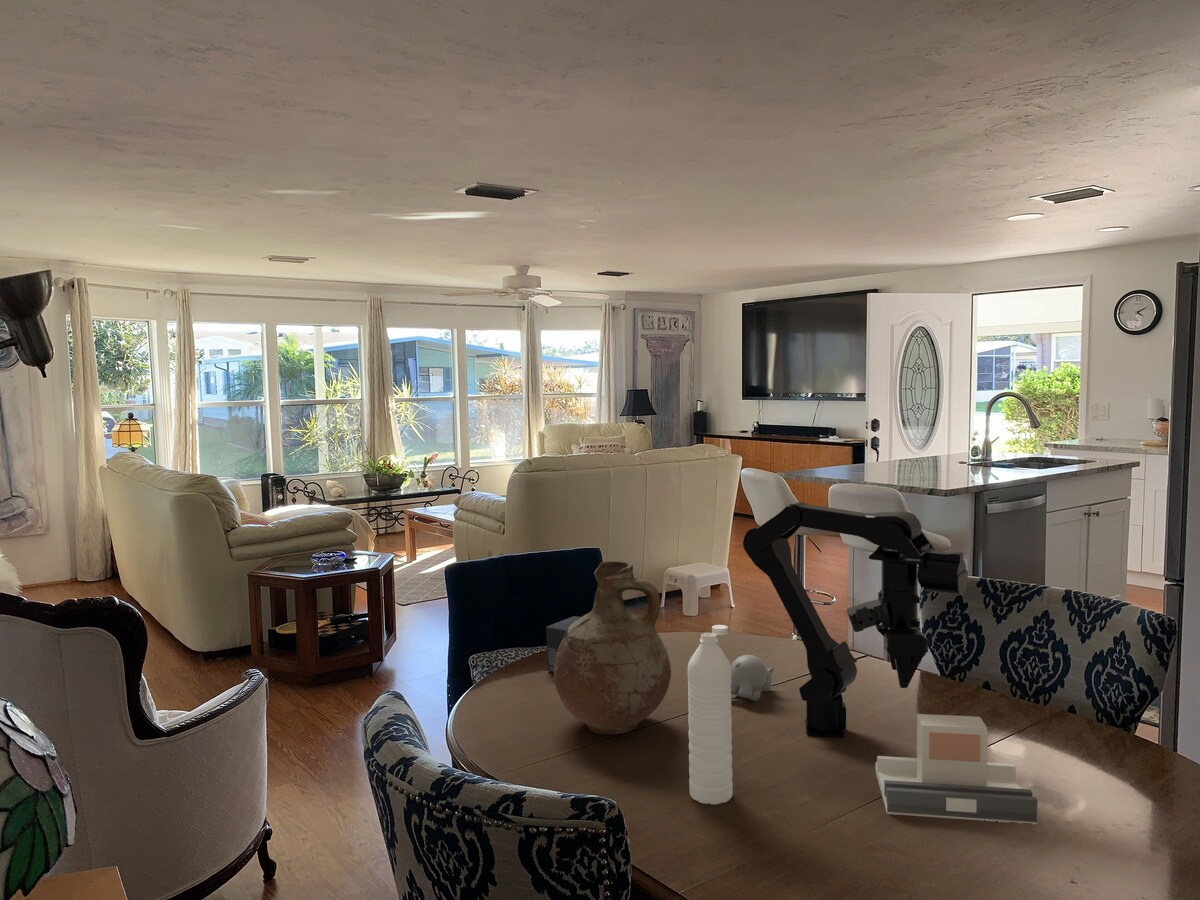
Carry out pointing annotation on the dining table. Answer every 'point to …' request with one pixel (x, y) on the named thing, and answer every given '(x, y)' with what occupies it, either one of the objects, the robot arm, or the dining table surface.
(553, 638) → the small box
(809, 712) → the robot arm
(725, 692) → the water bottle
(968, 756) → the cream carton
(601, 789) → the dining table surface
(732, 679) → the round bodied animal figurine
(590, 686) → the jug
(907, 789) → the shelf
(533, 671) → the dining table surface
